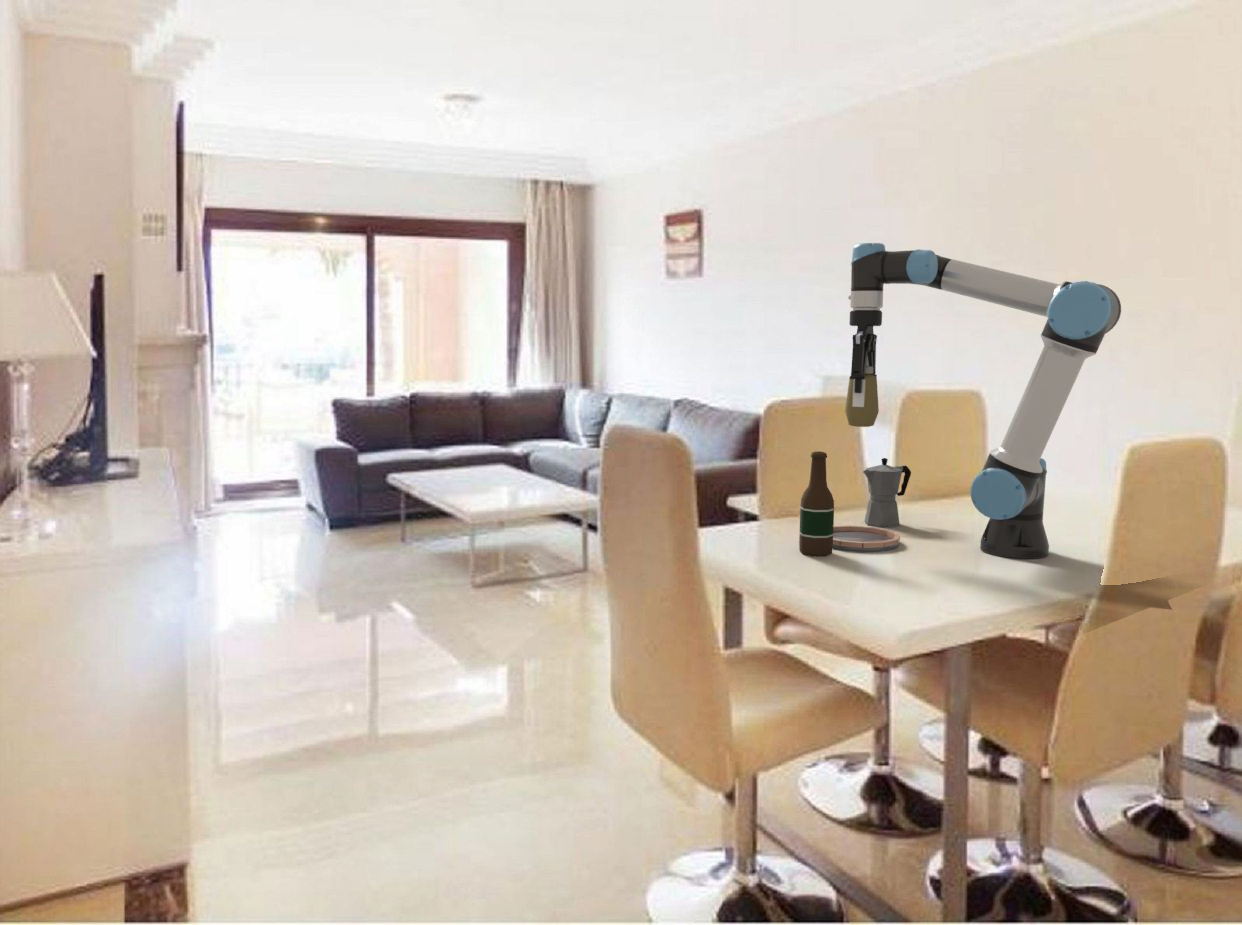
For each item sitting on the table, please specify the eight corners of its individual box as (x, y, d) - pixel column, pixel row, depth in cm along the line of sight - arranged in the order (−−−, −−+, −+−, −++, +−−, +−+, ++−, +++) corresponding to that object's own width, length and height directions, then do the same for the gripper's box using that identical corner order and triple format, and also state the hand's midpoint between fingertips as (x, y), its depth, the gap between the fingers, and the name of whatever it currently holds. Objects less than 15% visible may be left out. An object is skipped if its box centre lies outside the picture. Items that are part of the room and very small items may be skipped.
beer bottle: (812, 558, 223) (816, 455, 220) (792, 551, 230) (795, 451, 227) (839, 554, 227) (843, 453, 223) (818, 548, 234) (821, 449, 230)
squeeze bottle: (881, 425, 238) (884, 351, 235) (874, 428, 230) (878, 352, 228) (847, 423, 241) (850, 350, 239) (840, 426, 234) (843, 351, 231)
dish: (915, 544, 238) (916, 535, 238) (864, 555, 226) (865, 546, 226) (849, 530, 254) (850, 522, 253) (799, 540, 241) (799, 532, 241)
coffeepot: (872, 529, 256) (875, 461, 253) (851, 522, 264) (853, 457, 262) (919, 524, 262) (922, 458, 259) (896, 518, 270) (899, 454, 268)
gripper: (860, 310, 242) (857, 402, 245) (839, 308, 225) (835, 407, 228) (891, 310, 239) (887, 403, 242) (871, 308, 222) (867, 409, 225)
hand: (862, 405), depth 235 cm, fingers closed on squeeze bottle, 6 cm apart
